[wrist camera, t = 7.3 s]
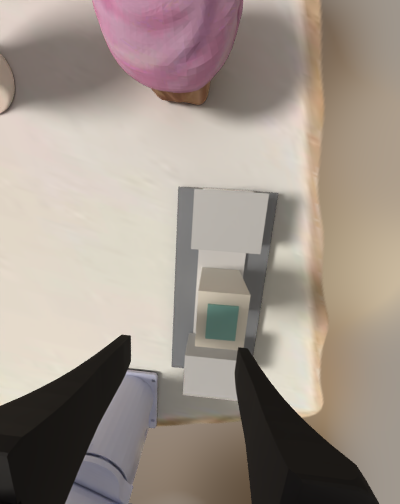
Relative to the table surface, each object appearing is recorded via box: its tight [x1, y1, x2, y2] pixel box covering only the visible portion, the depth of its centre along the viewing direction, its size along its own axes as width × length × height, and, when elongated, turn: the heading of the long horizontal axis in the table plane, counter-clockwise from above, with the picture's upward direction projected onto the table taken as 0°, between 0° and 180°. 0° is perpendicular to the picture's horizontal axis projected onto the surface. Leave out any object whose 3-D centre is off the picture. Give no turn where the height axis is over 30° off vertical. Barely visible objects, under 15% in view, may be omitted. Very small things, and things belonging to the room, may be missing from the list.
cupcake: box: [92, 0, 243, 105], centre depth 13 cm, size 9×9×10 cm
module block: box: [195, 267, 251, 350], centre depth 18 cm, size 5×4×6 cm
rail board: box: [172, 187, 278, 401], centre depth 20 cm, size 22×10×5 cm, turn 176°
